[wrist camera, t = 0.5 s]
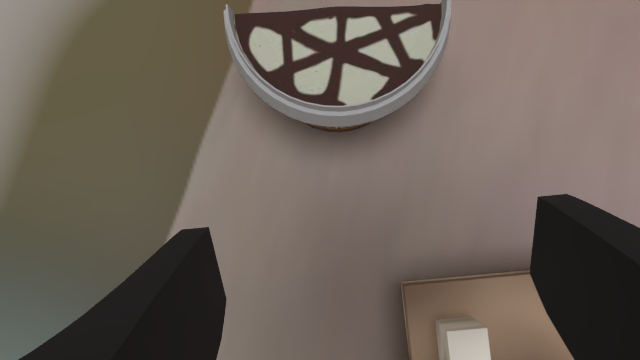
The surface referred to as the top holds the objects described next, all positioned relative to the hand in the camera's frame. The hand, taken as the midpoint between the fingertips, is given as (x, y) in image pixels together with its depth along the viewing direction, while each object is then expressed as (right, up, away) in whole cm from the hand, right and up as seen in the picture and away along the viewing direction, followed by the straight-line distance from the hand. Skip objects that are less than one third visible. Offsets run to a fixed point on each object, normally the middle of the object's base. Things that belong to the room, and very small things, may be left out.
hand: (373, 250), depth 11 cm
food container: (0, +7, +24) cm, 25 cm away
